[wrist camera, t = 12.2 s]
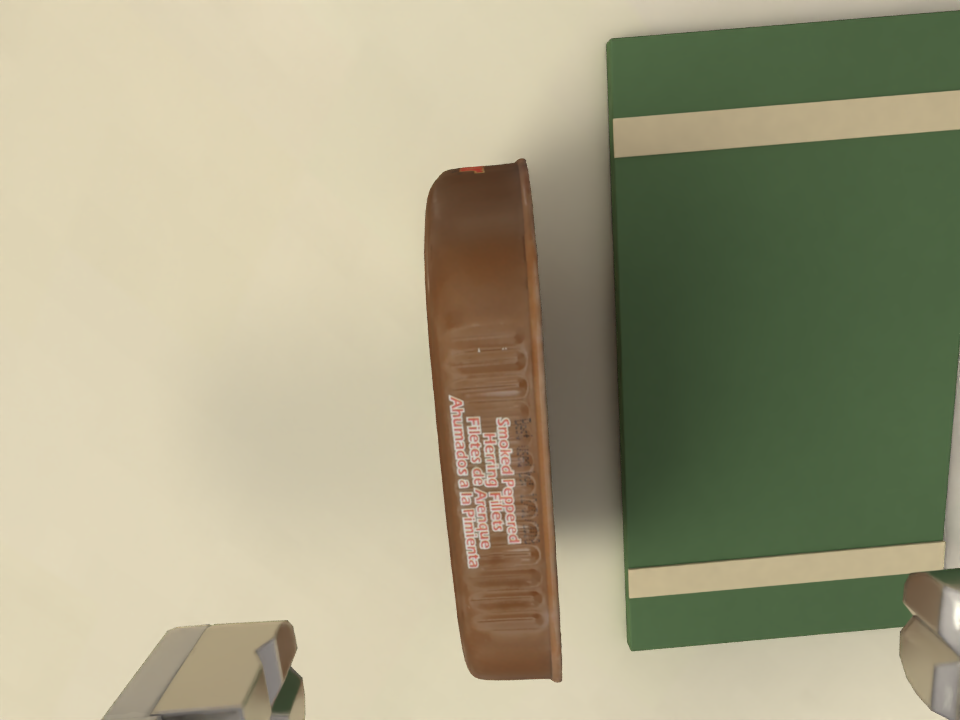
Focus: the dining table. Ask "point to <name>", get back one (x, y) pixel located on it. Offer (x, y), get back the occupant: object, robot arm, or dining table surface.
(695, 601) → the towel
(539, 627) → the tin
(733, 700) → the dining table surface
